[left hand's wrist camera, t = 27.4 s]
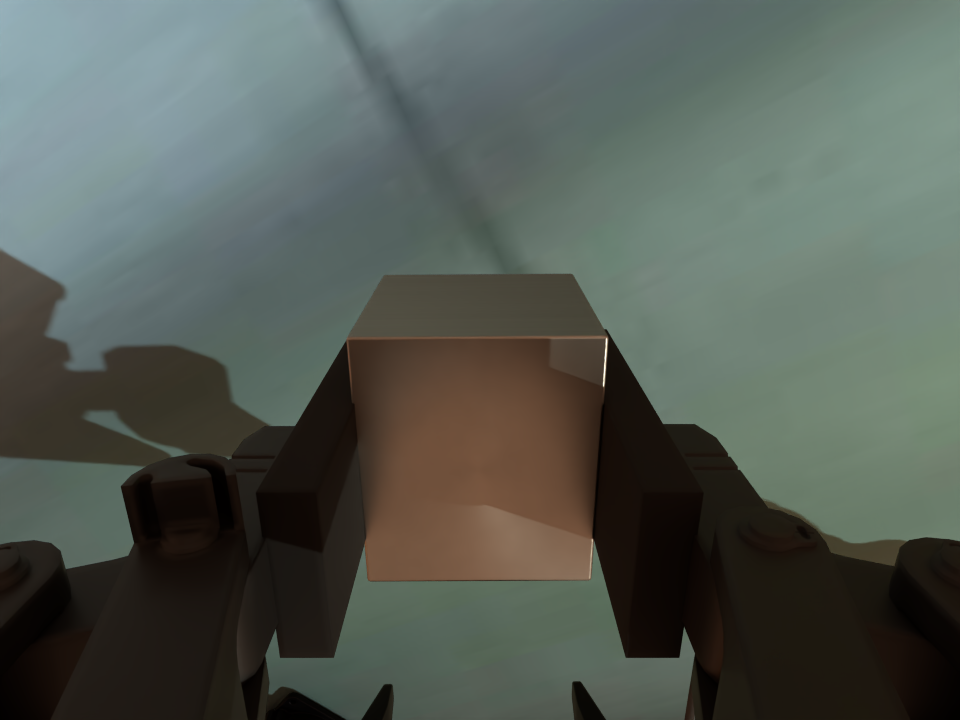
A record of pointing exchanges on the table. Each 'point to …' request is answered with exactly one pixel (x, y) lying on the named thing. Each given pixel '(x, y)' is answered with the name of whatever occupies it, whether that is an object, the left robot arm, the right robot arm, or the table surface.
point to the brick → (478, 427)
